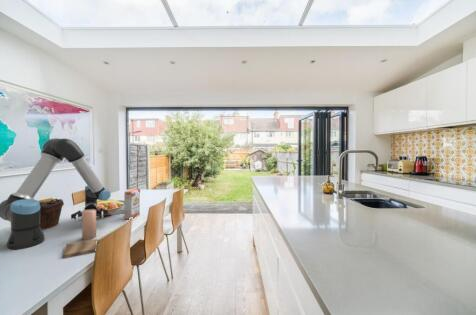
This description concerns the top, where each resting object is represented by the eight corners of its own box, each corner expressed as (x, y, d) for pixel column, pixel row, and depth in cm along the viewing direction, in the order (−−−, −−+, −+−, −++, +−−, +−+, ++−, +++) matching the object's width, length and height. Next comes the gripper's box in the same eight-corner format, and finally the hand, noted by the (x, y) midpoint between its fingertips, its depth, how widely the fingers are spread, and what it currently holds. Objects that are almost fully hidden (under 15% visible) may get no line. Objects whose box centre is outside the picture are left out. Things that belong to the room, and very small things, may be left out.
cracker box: (131, 219, 166) (131, 191, 165) (123, 219, 166) (123, 191, 165) (140, 214, 180) (140, 188, 179) (133, 213, 180) (133, 188, 179)
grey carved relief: (141, 211, 186) (140, 203, 186) (106, 218, 172) (106, 209, 172) (137, 209, 199) (136, 201, 199) (104, 214, 185) (104, 206, 185)
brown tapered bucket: (71, 221, 159) (70, 196, 159) (44, 231, 140) (43, 203, 139) (48, 220, 161) (48, 195, 160) (19, 230, 141) (17, 202, 141)
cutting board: (62, 258, 108) (62, 255, 108) (66, 247, 119) (66, 244, 119) (97, 251, 115) (97, 248, 115) (97, 241, 127) (97, 239, 127)
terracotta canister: (81, 240, 128) (81, 213, 127) (82, 236, 133) (82, 210, 133) (96, 238, 131) (96, 211, 131) (96, 234, 137) (96, 208, 136)
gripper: (111, 212, 165) (112, 220, 147) (68, 217, 152) (64, 226, 134) (110, 202, 165) (112, 209, 147) (68, 206, 151) (64, 214, 133)
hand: (89, 217), depth 140 cm, fingers open, 13 cm apart
